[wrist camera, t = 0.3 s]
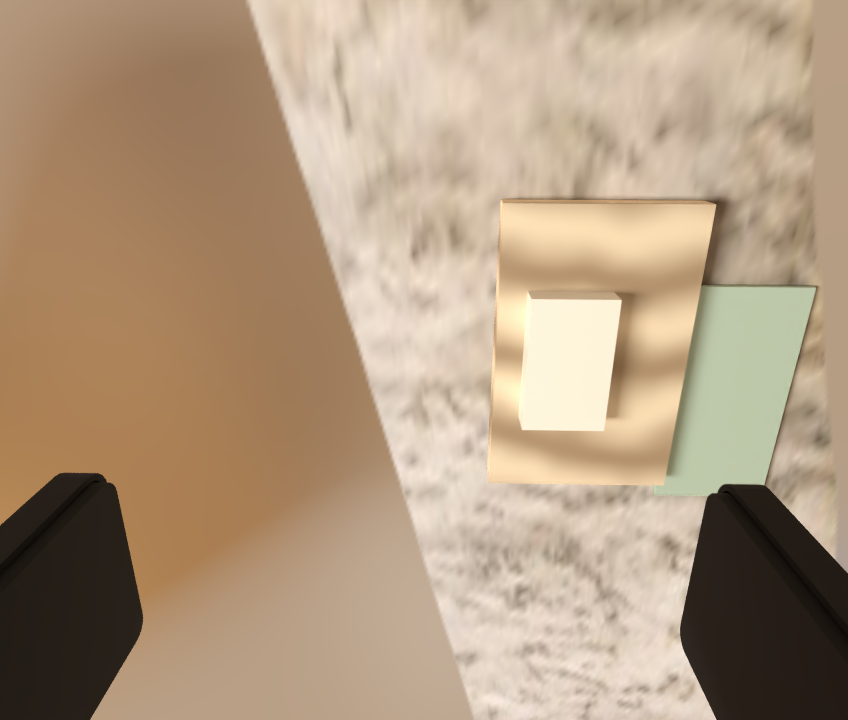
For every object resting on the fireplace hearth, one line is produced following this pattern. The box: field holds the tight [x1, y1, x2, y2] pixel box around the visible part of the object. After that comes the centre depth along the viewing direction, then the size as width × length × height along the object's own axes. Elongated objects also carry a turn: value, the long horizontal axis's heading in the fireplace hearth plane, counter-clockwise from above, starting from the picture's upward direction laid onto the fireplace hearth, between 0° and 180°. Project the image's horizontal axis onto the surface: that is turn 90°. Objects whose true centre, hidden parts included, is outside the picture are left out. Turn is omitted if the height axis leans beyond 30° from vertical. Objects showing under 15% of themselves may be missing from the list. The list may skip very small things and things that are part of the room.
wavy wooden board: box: [487, 199, 716, 485], centre depth 44 cm, size 22×14×2 cm, turn 0°
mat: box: [653, 285, 816, 496], centre depth 46 cm, size 18×9×1 cm, turn 0°
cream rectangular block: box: [519, 291, 622, 431], centre depth 42 cm, size 10×6×2 cm, turn 0°
